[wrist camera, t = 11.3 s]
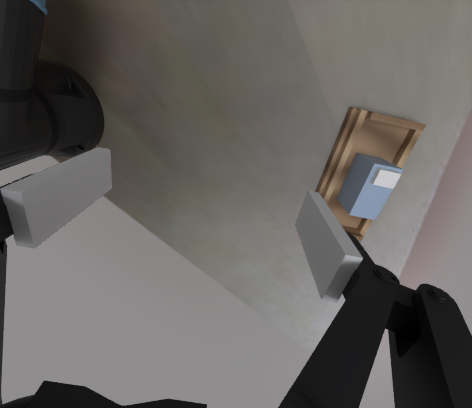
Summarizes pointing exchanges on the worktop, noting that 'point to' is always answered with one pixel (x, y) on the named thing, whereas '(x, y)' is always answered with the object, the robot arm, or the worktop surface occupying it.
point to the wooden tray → (366, 142)
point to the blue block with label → (367, 185)
